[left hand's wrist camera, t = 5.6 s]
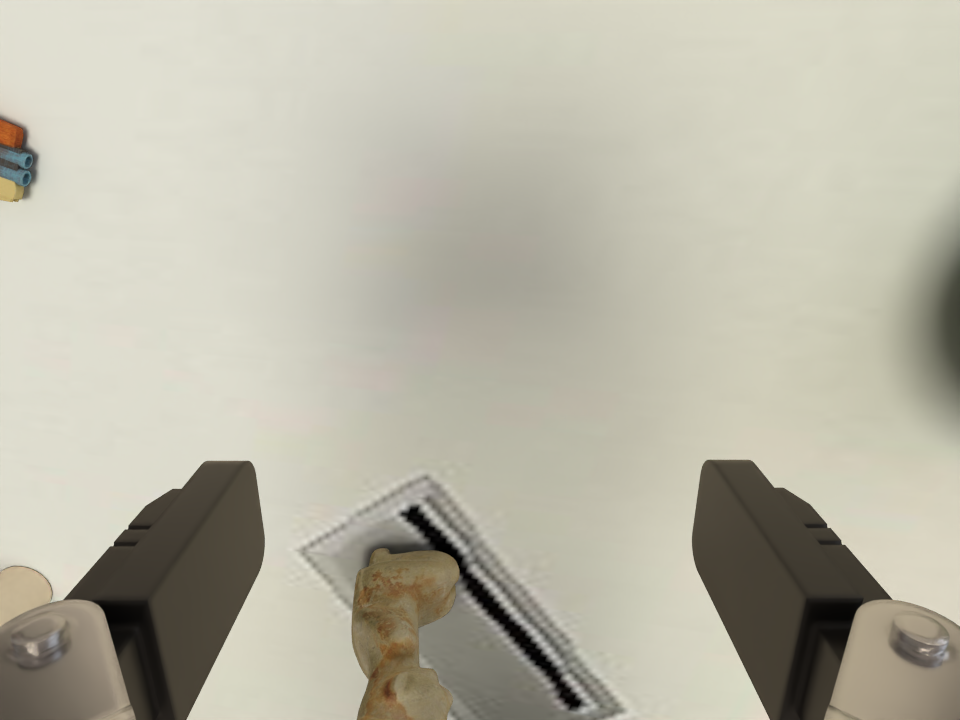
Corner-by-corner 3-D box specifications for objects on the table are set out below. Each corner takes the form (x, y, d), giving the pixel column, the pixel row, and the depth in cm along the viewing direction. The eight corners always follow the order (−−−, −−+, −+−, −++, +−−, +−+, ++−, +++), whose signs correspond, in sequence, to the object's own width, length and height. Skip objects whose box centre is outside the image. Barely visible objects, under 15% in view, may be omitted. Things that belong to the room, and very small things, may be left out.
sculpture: (453, 604, 48) (441, 800, 34) (358, 592, 48) (308, 786, 34) (463, 541, 46) (457, 722, 32) (365, 528, 46) (315, 706, 32)
